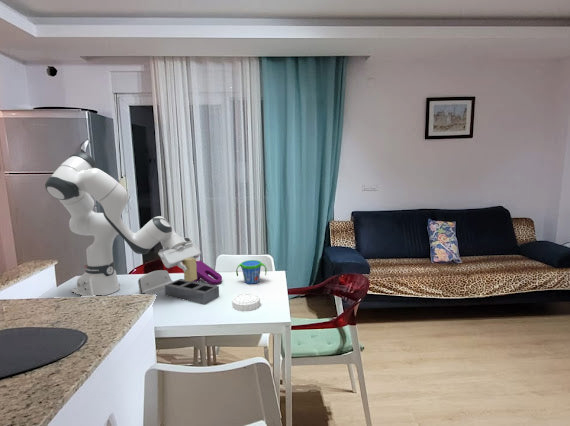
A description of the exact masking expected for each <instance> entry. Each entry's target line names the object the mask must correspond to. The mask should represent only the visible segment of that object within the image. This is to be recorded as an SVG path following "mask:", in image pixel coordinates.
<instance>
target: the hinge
mask: <svg viewBox="0 0 570 426" xmlns="http://www.w3.org/2000/svg"><path fill="white" fill-rule="evenodd" d="M172 282H174V281H173V280H172V278H171V276H170V274H169V271H168V270H163V269H160V270H154V271H151V272H148V273H145V274H143V276H141V277H140V278H138V280H137V285H138V289H139V290H138V291H139V295H142V294H144V295H145V294H150V295H152V294H155V293H157V292H160V290H161V291H162V290H163V291H164V290H165V285H167V284H169V283H172ZM151 293H152V294H151Z"/></svg>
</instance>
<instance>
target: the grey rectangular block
mask: <svg viewBox="0 0 570 426" xmlns="http://www.w3.org/2000/svg"><path fill="white" fill-rule="evenodd" d="M164 291H165V292H164V293H165V296H166V295H168V296H167V297H170V296H171V297H172V298H175V299H179V298H180V299H179V300H183V299H184V301H187V300H188V301H189V302H193V303H196V304H200V305H201V304H202V305H207V304H208V303H210V302H212V301H214V300H216V299H217V298H219V297H220V286H219V285H211V284H208V283H206V282H205V283H204V282H200V281H198V282H195V281H191V282H190V281H185V280H184V278H180V279H177V280H174V281H173V282H172V283H169V284H167V285H165V289H164Z"/></svg>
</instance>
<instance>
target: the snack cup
mask: <svg viewBox="0 0 570 426" xmlns="http://www.w3.org/2000/svg"><path fill="white" fill-rule="evenodd" d="M262 266H263V267H264V268H265V270H264V272H265V274H264V276H267V267H266V264H265V263H263V262H262V261H261V260H257V259H256V260H255V259H251V260H245V261H242V262H241V263H240V264H238V265H237V267H236V270H235V271H236V276H237V277H239V273H238V272H239V271H238V269H239V268H241V270H242V275H243V280H244V281H243V282H244V283H246V284H249V285H252V284H257V283H259V282H260V278H261V277H260V275H261V267H262Z"/></svg>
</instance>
